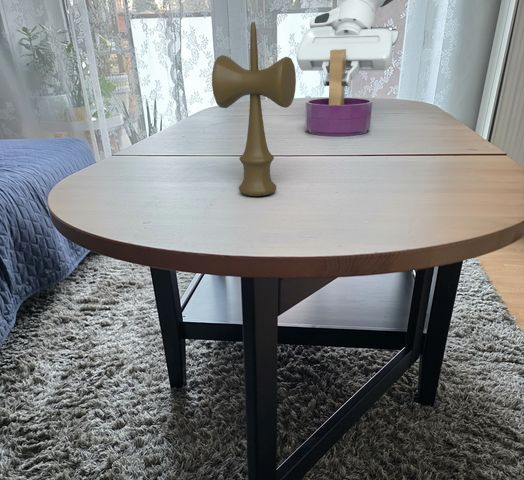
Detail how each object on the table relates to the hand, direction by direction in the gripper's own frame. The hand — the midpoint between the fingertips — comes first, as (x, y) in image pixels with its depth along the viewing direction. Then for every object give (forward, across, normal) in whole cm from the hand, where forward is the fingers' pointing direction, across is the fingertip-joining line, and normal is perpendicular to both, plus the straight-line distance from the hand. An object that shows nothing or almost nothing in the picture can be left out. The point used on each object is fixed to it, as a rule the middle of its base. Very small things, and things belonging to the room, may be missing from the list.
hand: (335, 84), depth 106 cm
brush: (+5, 0, -7) cm, 8 cm away
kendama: (+43, -5, +29) cm, 52 cm away
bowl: (+5, 0, -8) cm, 10 cm away
